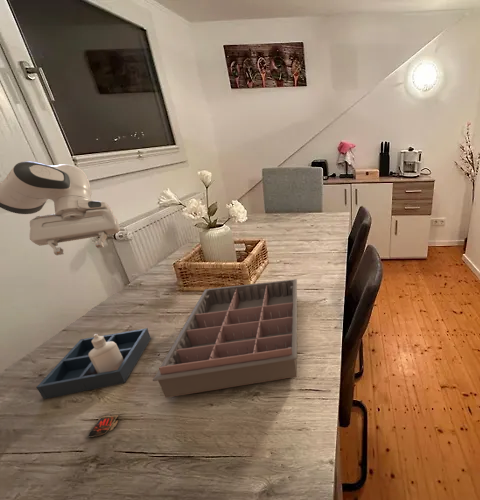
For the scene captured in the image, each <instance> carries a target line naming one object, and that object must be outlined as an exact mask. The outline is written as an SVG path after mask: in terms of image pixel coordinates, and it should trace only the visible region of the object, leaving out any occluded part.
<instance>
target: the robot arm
mask: <svg viewBox="0 0 480 500" xmlns="http://www.w3.org/2000/svg"><path fill="white" fill-rule="evenodd" d="M91 197H92V188H91V184H90V180H89V178H88V175H87V174H86V173H85V171H84V170H82V169H81V168H80V167H78V166H76V165H72V164H67V163H62V164H56V165H48V164H45V163H40V162H38V161H20V162H18V163H16V164H15V165H14V166H13V167H12V168H11V170H10V171H9V172H8V173H7V175H6V177H5V178H4V179H3V180H2V181H1V180H0V208H1V209H3V210H5V211H7V212H10V213H14V214H18V215H31V214H35V213H39V212H40V211H41V210H42V209H43V208H44V206H45V205H46V203H47V201H48V200H51V201H53V206H54V213H52V214H51V213H50V214H46V215H38V216H37V215H36V216H35V217H33V218H31V220H29V228H30V229H29V240H30V241H31V242H32V243H33V244H35V245H37V246H49V247H51V248H52V250H53V254H54V255H55V256H62V255H64V249H63V248H62V247H61V246H59V244H60V243H67V242H71V241H73V242H74V241H78V240H85V239H92V238H97V237H99V238H98V240H95V241H94V243H95V247H96V248H97V249H101V248H102V249H103V248H104V247H105V246H104V244H105V241H106V240H107V238H108V236H110V235H116V234H119V233H120V231H121V226H120V224H119V221H118V219H117V218H116V216H115V215H114V211H113V210H112V208H111V207H110V206H109V204H107V202H106V201H100V200H92V198H91ZM57 246H58V247H57Z"/></svg>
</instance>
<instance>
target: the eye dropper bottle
mask: <svg viewBox="0 0 480 500" xmlns="http://www.w3.org/2000/svg"><path fill="white" fill-rule="evenodd" d="M103 336H104V335H99V334H98V333H94V334H93V337H94V339H93V340H92V341H91V342H92V344H93V346H94V348H93V349H92V350H91V351H90V352H89V354H88V355H89V358H90V360H91V362H92V364H93V366H94V367H95V369H96V371H97V373H103V372H109V371H114V370H118V368H119V367H120V365H121V364H122V362H123V361H124V359H123V357H122V355H121V353H120V351H119V348H118V346H117V345H116V343H115V342H113V341H110V342H106V341H105V339H104V337H103Z"/></svg>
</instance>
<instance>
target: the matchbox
mask: <svg viewBox="0 0 480 500" xmlns="http://www.w3.org/2000/svg"><path fill="white" fill-rule="evenodd" d="M117 418H118V414H117V415H109V414H108V415H103V416H101V417H99V418H98V420H97V421H96V422H95V424H94V425H93V427H92V428H91V429H90V430H89V433H88V436H87V437H88V438H95V437H99V436H103V435H105V434H106V433H107V432H110V431H113V430H114V428H116V426H117V424H118V423H119V420H117Z"/></svg>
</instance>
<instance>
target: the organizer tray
mask: <svg viewBox="0 0 480 500" xmlns="http://www.w3.org/2000/svg"><path fill="white" fill-rule="evenodd" d="M297 377H298V279H297V278H294V279H285V280H276V281H275V280H274V281H267V282H258V283H250V284H249V283H248V284H241V285H240V284H239V285H230V286H222V287H213V288H205V289H204V290H203V292H202V294H201V295H200V298H199V299H198V301H197V303H196V304H195V306H194V308H193V310H192V311H191V313H190V315H189V316H188V318H187V320H186V321H185V324H184V325H183V327H182V328H181V330H180V332H179V334H178V336H177V337H176V339H175V340H174V342H173V344H172V346H171V347H170V349H169V351H168V353H167V354H166V355H165V357H164V360H163V361H162V363H161V364H160V366H159V367H158V370H157V371H156V373H155V374H154V377H153V378H152V382H158V383H159V387H160V388H161V390H162V393H163V396H164V398H165V399H166V398H167V399H168V398H172V397H179V396H186V395H191V394H197V393H203V392H211V391H216V390H221V391H223V390H224V389H228V388H234V387H241V386H247V385H252V384H253V385H255V384H259V383H266V382H272V381H277V380H283V379H285V380H286V379H291V378H297ZM222 389H223V390H222Z"/></svg>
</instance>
